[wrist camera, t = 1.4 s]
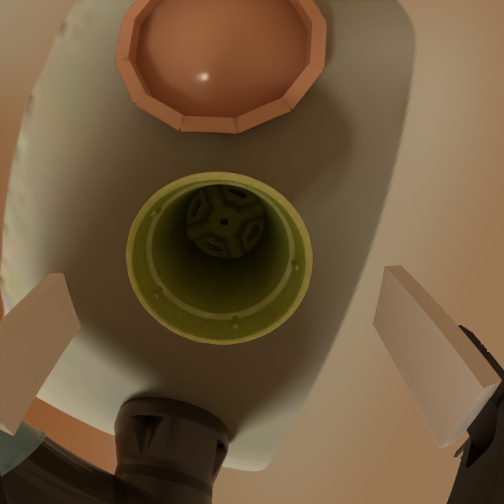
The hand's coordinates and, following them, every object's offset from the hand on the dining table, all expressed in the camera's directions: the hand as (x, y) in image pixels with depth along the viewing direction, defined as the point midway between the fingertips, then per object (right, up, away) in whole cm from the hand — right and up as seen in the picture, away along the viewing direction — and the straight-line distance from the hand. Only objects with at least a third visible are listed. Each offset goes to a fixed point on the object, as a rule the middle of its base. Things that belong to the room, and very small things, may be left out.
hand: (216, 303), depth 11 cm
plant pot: (-1, +4, +11) cm, 12 cm away
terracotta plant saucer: (-1, +17, +6) cm, 18 cm away
